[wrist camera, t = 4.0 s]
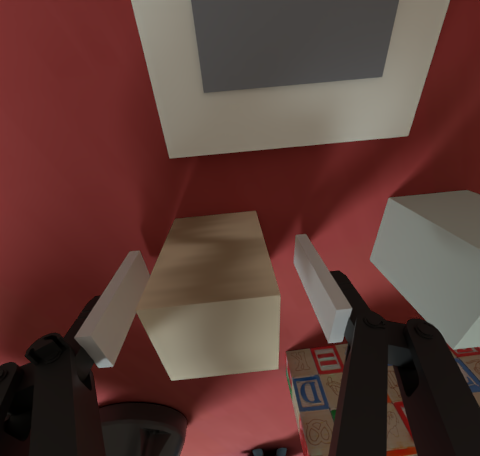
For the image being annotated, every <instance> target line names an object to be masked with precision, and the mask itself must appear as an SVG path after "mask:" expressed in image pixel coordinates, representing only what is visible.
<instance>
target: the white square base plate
mask: <svg viewBox="0 0 480 456" xmlns="http://www.w3.org/2000/svg"><path fill="white" fill-rule="evenodd" d="M131 2H132V6H133V10H134V15H135V19H136V23H137V27H138V31H139V35H140V39H141V43H142V48H143V52H144V56H145V60H146V64H147V68H148V72H149V76H150V80H151V85H152V89H153V93H154V97H155V101H156V105H157V109H158V113H159V117H160V122H161V126H162V130H163V134H164V138H165V142H166V146H167V150H168V155H169V159H170V158H181V157H191V156H202V155H213V154H223V153H234V152H245V151H255V150H266V149H276V148H287V147H298V146H308V145H319V144H330V143H340V142H351V141H362V140H372V139H383V138H394V137H404V136H408V135H409V132H410V129H411V125H412V122H413V119H414V116H415V112H416V109H417V106H418V103H419V100H420V96H421V93H422V90H423V87H424V83H425V80H426V77H427V74H428V70H429V67H430V64H431V61H432V57H433V54H434V51H435V48H436V44H437V41H438V38H439V35H440V31H441V28H442V25H443V22H444V18H445V15H446V12H447V9H448V5H449V2H450V0H131Z"/></svg>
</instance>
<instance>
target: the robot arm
mask: <svg viewBox="0 0 480 456" xmlns="http://www.w3.org/2000/svg"><path fill="white" fill-rule="evenodd" d="M294 265H295V268H296V270H297V272H298V274H299V277H300V279H301V281H302V284H303V286H304V288H305V291H306V293H307V295H308V298H309V300H310V302H311V304H312V307H313V309H314V311H315V314H316V316H317V318H318V321H319V323H320V325H321V328H322V330H323V332H324V334H325V337H326V339H327V341H328V343H337V342H342V341H343V338H344V336H345V338H346V340H347V342H348V345H347V349H346V352H345V355H346V356H345V362H344V368H343V374H342V379H341V385H340V391H339V397H338V403H337V408H336V414H335V420H334V426H333V431H332V437H331V443H330V449H329V455H328V456H387V392H388V364H390V365H393V369H394V372H395V376H396V379H397V383H398V387H399V390H400V394H401V397H402V401H403V405H404V408H405V412H406V415H407V419H408V423H409V426H410V430H411V433H412V437H413V441H414V444H415V448H416V451H417V455H418V456H480V407H479V405H478V403H477V401H476V399H475V397H474V395H473V393H472V391H471V389H470V387H469V386H468V384H467V382H466V380H465V378H464V376H463V374H462V372H461V370H460V368H459V366H458V364H457V362H456V360H455V359H454V357H453V355H452V353H451V351H450V349H449V347H448V345H447V343H446V341H445V339H444V337H443V335H442V334H441V333H440V331H439V330H438V329H437V328H436V327H435V326H433V325H432V324H430V323H428V322H427V321H424V320H421V319H410V320H408V322H407V323H406V324H401V323H396V322H390V321H386V320H385V319H384V318H383V317H381V316H380V315H379V314H377V313H375V312H372V311H371V310H370V309H369V307H368V306H367V305H366V303H365V302H364V300H363V299H362V297H361V296H360V295H359V293H358V292H357V290H356V289H355V288H354V286H353V285H352V284H351V282H350V280H349V279H348V278H347V276H346V275H344V274H343V273H342V272H340V271H330V272H329V270H328V269H327V267H326V265H325V264H324V262H323V261H322V259H321V257H320V256H319V254H318V253H317V251H316V249H315V248H314V246H313V245H312V243H311V241H310V240H309V238H308V237H307V235H306V234H300V235H296V237H295V252H294ZM149 277H150V274H149V272H148V269H147V267H146V264H145V262H144V259H143V257H142V254H141V252H140V251H130V252H129V253H128V255H127V256H126V258H125V259H124V261H123V262H122V264H121V266H120V267H119V269H118V270H117V272H116V273H115V275H114V276H113V278H112V280H111V281H110V283H109V284H108V286H107V287H106V289H105V290H104V292H103V294H102V295H101V296H95V297H94V298H93V299H92V300H91V301H89V302H88V303H87V305H86V306H85V308H84V309H83V310H82V313H80V315H79V316H78V319H76V321H75V322H74V324H73V325H72V326H71V328H70V329H69V331H68V332H67V334H66V335H65V337H64V338H63V337H62V336H61V335H60V334H58V333H50V334H48V335H45V336H43V337H41V338H40V339H38V340H37V341H35V342H34V343H33V344H32V345H31V346H30V347H29V349H28V350H27V351H26V354H25V357H26V358H27V359H28V360H29V361H30V362H31V363H28V364H25V365H23V366H20V367H19V366H18V365H17V364H16V363H13V362H9V363H5V364H3V365H1V366H0V456H180V454H181V451H182V448H183V445H184V442H185V436H186V428H187V420H186V418H185V417H184V416H183V415H182V414H181V413H179V412H178V411H176V410H174V409H171V408H168V407H165V406H160V405H155V404H147V403H122V404H114V405H109V406H105V407H102V408H98V402H97V396H96V389H95V383H94V376H93V373H92V371H91V368H92V366H93V364H94V363H95V364H96V365H97V366H98V368H105V367H113V366H114V364H115V362H116V359H117V357H118V355H119V352H120V350H121V348H122V345H123V343H124V340H125V338H126V336H127V333H128V331H129V329H130V326H131V324H132V322H133V319H134V317H135V314H136V311H135V310H136V308H137V305H138V303H139V301H140V298H141V296H142V294H143V291H144V289H145V287H146V284H147V282H148V280H149Z"/></svg>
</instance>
